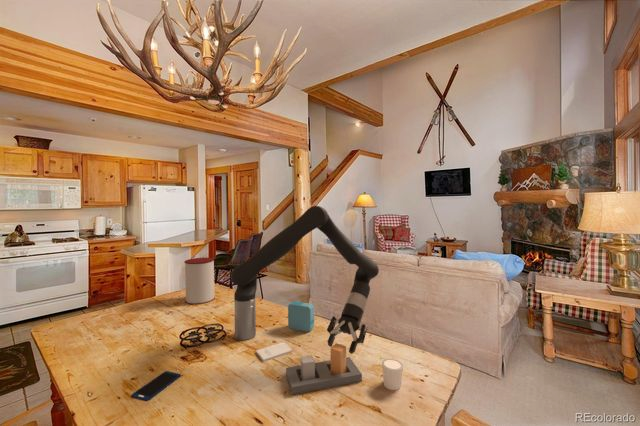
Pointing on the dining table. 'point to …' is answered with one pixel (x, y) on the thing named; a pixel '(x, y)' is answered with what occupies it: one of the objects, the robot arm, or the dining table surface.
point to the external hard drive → (273, 351)
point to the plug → (338, 359)
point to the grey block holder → (319, 375)
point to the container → (199, 280)
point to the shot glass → (392, 373)
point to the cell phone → (155, 386)
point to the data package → (301, 316)
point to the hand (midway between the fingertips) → (339, 349)
